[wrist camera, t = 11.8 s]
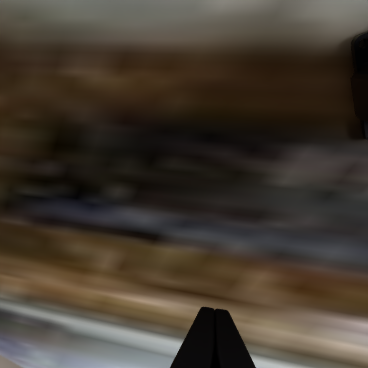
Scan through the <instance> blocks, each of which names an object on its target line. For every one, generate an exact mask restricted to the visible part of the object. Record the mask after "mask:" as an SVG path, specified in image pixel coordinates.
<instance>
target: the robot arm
mask: <svg viewBox="0 0 368 368" xmlns="http://www.w3.org/2000/svg"><path fill="white" fill-rule="evenodd" d="M362 39H363V40H365V45H364V47H362V48H360V47H359V42H360V40H362ZM351 51H352V58H353V66H354V74H353V75H352V77H351V85H352V92H353V100H354V107H355V114H356V117H358V118H360V119H361V126H362V134H363V137H364V138H365V139H366V140H368V32H365V33H362V34H360V35H358V36H356V37H355V38H354V39H353V41H352V43H351ZM170 368H256V367H255V365H254V363H253V361H252V359H251V357H250V354H249V352H248V350H247V348H246V346H245V344H244V342H243V340H242V338H241V336H240V334H239V332H238V330H237V328H236V326H235V324H234V322H233V319H232V317H231V315H230V313H229V312H228V311H227V310H223V309H215V311H214V309H213V308H209V307H201V309H200V310H199V312H198V314H197V316H196V318H195V320H194V322H193V324H192V326H191V328H190V330H189V332H188V334H187V336H186V338H185V339H184V341H183V343H182V345H181V347H180V349H179V351H178V353H177V355H176V357H175V359H174V361H173V363H172V365H171V367H170Z"/></svg>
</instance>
